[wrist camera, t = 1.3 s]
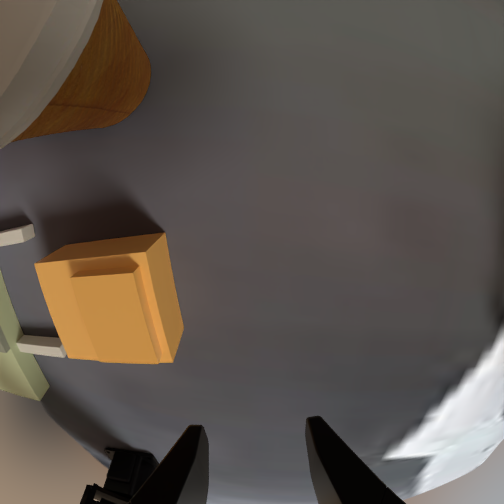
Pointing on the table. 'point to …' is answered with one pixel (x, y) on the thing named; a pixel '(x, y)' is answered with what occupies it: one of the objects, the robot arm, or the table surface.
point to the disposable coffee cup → (67, 67)
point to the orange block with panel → (114, 299)
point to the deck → (21, 339)
